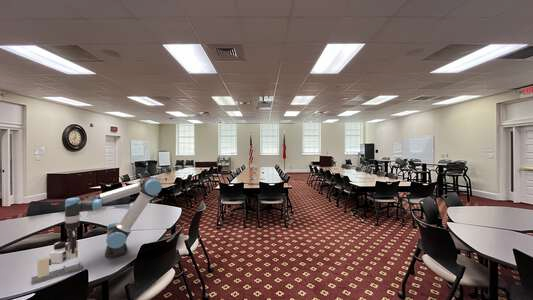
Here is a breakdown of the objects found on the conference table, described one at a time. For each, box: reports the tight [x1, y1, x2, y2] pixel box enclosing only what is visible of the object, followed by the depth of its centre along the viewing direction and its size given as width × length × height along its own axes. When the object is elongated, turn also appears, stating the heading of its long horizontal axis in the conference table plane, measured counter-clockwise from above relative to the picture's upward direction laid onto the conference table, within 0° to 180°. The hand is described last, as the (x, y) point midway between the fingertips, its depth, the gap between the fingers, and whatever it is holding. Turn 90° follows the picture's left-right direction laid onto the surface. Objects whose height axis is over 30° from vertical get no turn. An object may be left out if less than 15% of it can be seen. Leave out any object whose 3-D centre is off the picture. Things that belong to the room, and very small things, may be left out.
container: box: [49, 241, 68, 264], centre depth 165 cm, size 8×8×13 cm
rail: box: [31, 257, 84, 285], centre depth 148 cm, size 24×6×12 cm, turn 138°
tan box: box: [65, 239, 79, 261], centre depth 152 cm, size 6×4×10 cm, turn 138°
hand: (72, 256), depth 153 cm, fingers closed on tan box, 4 cm apart
